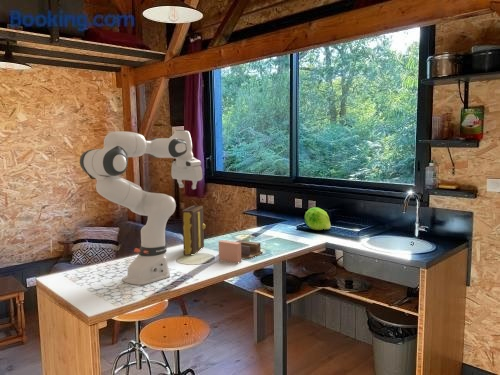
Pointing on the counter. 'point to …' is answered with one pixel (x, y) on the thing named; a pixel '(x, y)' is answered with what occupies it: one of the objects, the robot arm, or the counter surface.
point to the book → (193, 229)
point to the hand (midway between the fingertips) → (187, 188)
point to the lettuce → (317, 219)
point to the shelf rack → (251, 248)
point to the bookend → (245, 250)
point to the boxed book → (229, 251)
